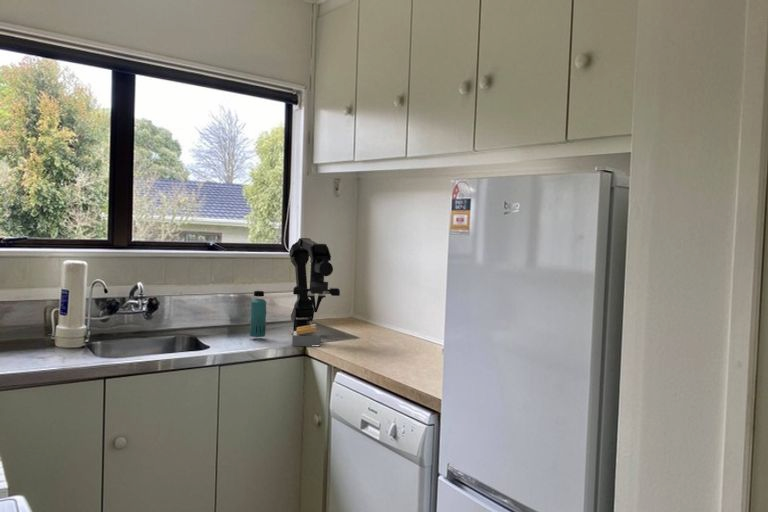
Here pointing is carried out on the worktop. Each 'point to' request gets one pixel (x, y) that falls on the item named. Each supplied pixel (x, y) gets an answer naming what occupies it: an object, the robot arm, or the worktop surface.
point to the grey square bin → (306, 339)
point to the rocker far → (306, 326)
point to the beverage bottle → (258, 316)
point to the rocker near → (306, 330)
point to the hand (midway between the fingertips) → (315, 312)
